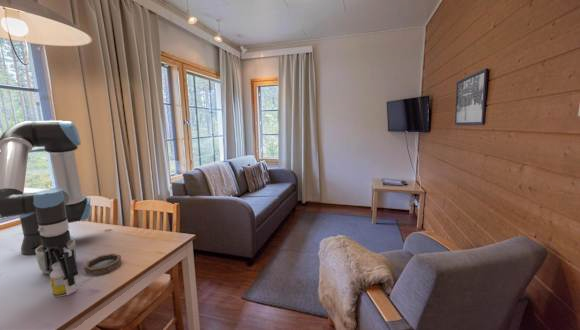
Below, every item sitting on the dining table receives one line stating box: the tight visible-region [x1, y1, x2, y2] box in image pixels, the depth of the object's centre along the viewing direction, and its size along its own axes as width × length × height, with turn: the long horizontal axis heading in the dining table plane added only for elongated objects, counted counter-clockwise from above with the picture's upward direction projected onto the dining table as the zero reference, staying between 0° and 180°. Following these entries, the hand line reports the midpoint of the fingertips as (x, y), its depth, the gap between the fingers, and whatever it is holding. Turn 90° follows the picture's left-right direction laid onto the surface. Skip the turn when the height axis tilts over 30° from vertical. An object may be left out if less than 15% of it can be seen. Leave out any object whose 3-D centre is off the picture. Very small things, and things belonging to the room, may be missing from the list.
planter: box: [35, 238, 77, 275], centre depth 106 cm, size 12×12×11 cm
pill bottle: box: [49, 262, 77, 298], centre depth 91 cm, size 6×6×12 cm
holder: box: [84, 253, 122, 276], centre depth 107 cm, size 12×12×3 cm
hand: (65, 290), depth 92 cm, fingers closed on pill bottle, 6 cm apart
